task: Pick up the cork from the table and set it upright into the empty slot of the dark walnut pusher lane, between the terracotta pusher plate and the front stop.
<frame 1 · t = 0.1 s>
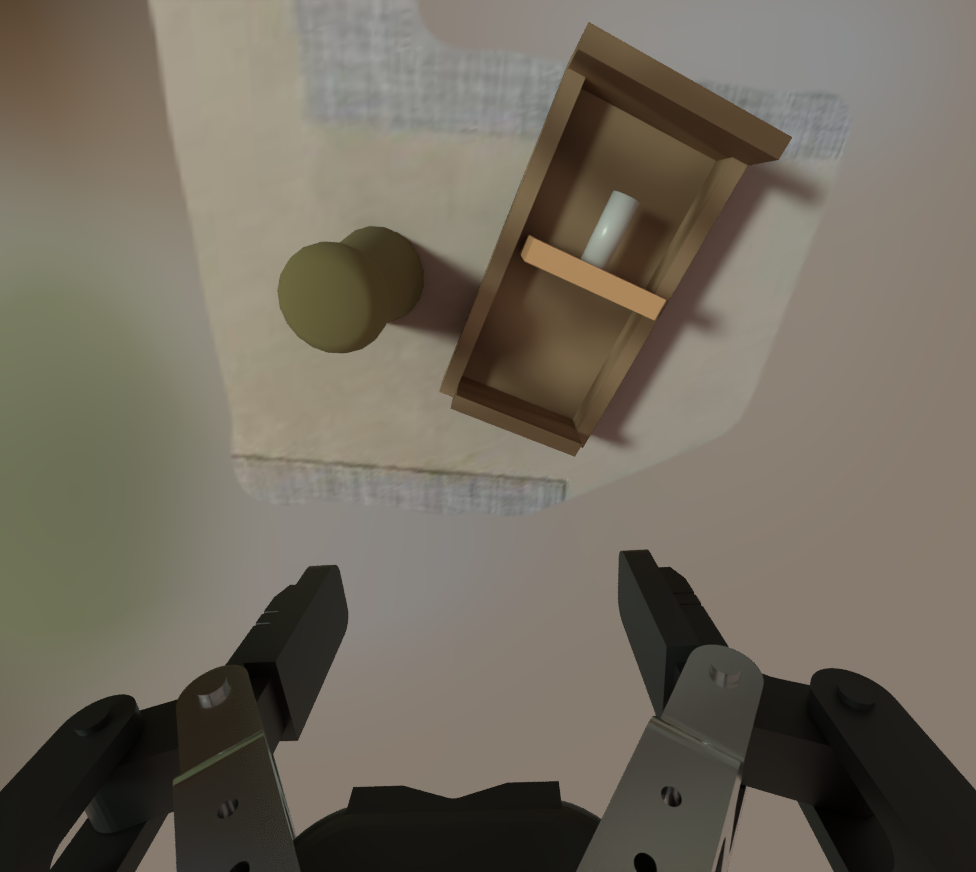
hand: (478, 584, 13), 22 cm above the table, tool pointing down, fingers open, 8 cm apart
lane: (572, 276, 30), on the table
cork: (379, 275, 31), on the table
pusher: (603, 242, 26), point 4 cm above the table, slide at 0.0 cm
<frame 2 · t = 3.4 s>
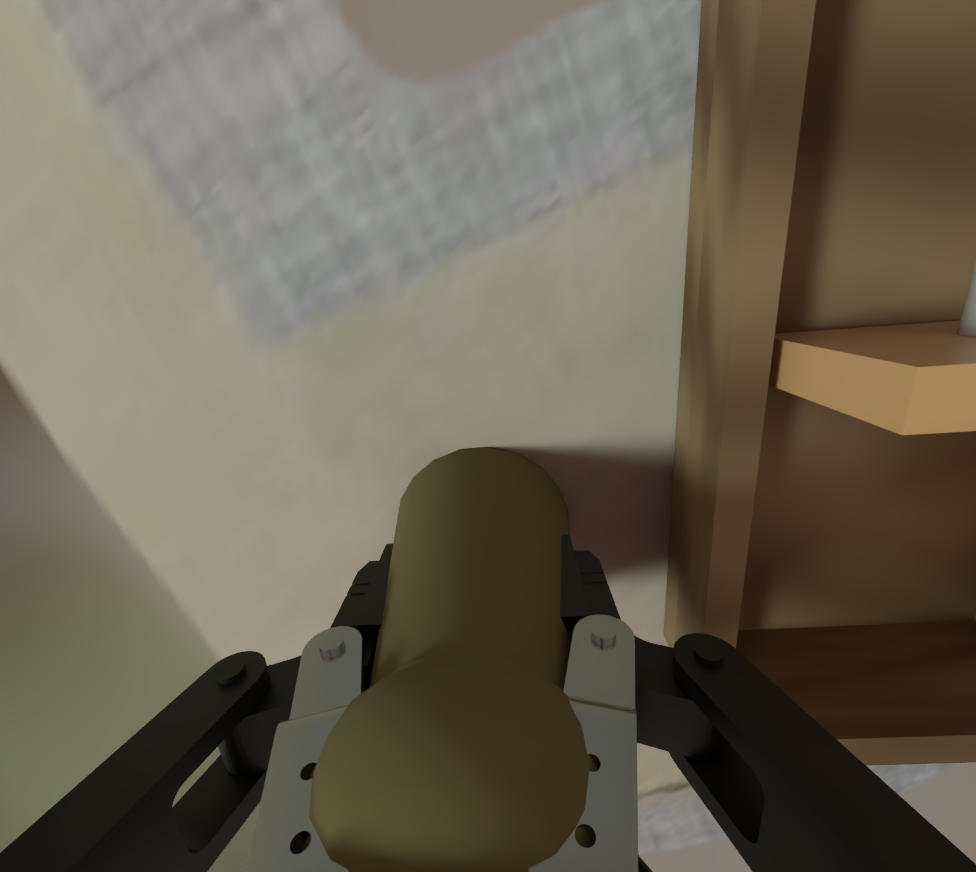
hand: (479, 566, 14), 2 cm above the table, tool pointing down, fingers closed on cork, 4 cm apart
lane: (864, 360, 14), on the table
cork: (483, 525, 16), on the table, touching gripper
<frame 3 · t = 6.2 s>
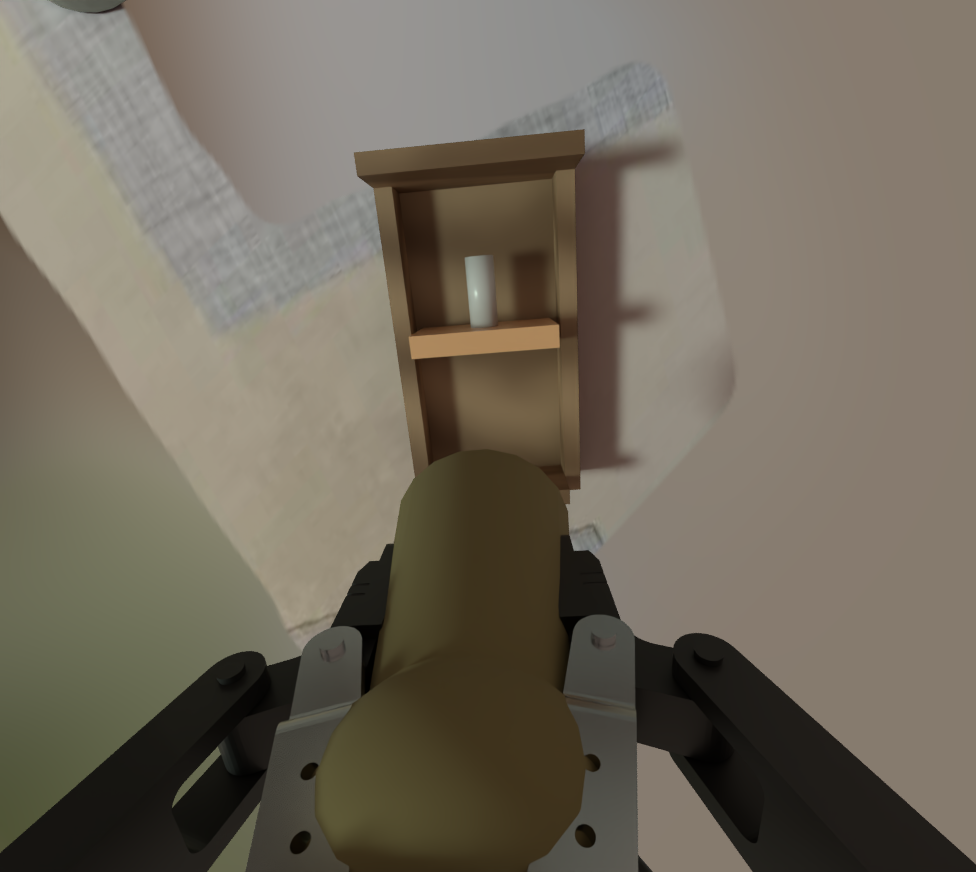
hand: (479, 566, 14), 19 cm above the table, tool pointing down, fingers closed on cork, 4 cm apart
lane: (487, 339, 30), on the table
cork: (483, 526, 16), point 17 cm above the table, touching gripper
pusher: (482, 303, 26), point 4 cm above the table, slide at 0.0 cm
when the fingers open (5 cm above the table, at t = 9.1 s): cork drops 1 cm, resting on lane.
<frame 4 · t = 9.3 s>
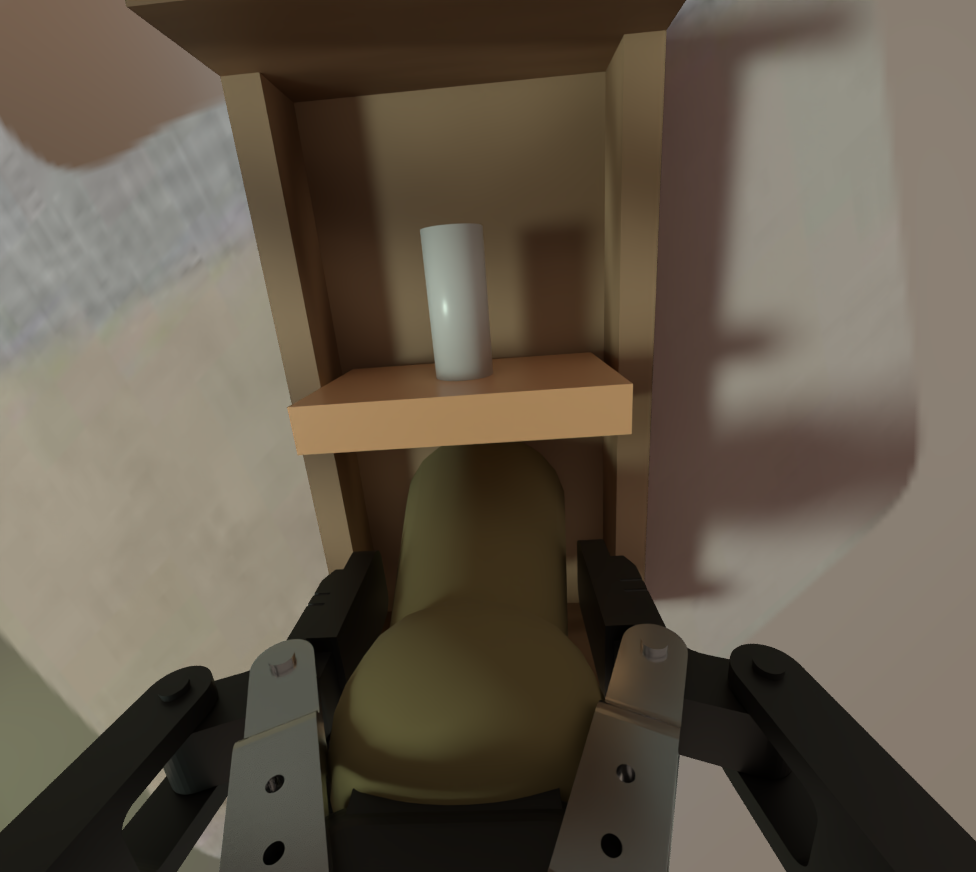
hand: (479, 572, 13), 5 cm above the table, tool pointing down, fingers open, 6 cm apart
lane: (475, 387, 17), on the table
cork: (486, 506, 17), point 1 cm above the table, touching lane
pusher: (460, 328, 12), point 4 cm above the table, slide at 0.0 cm
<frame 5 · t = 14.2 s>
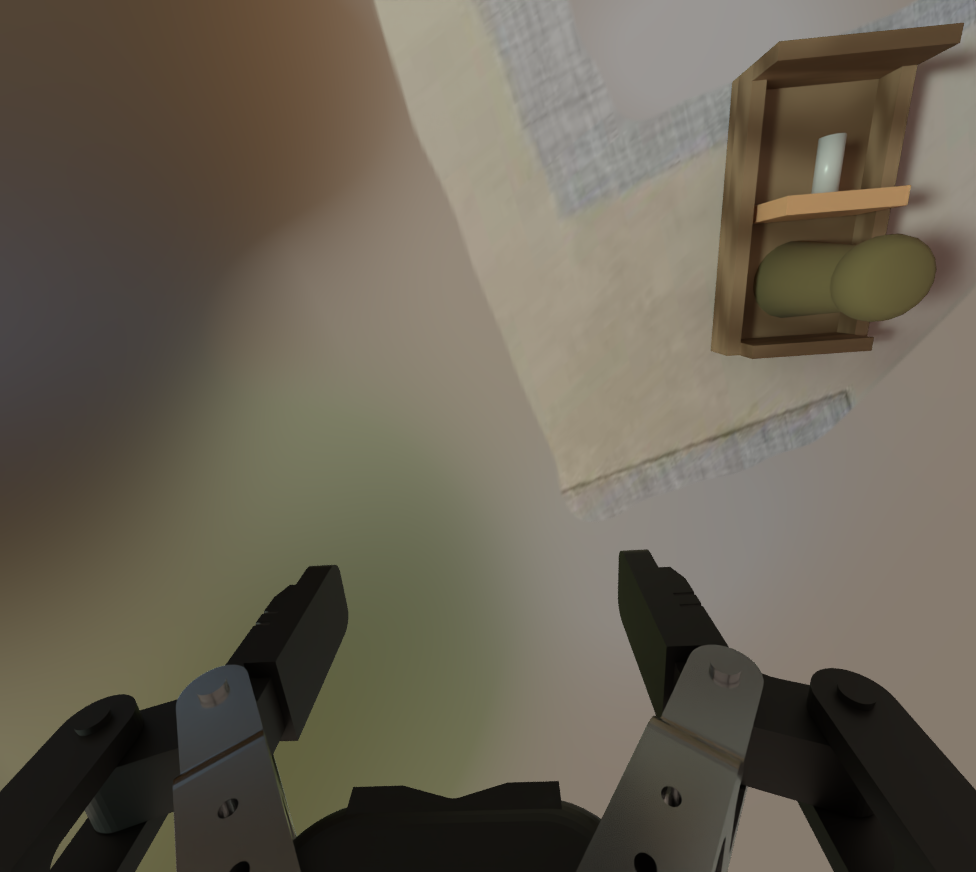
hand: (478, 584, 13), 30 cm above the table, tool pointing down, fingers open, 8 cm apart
lane: (789, 222, 37), on the table
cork: (789, 280, 37), point 1 cm above the table, touching lane
pusher: (826, 177, 32), point 4 cm above the table, slide at 0.0 cm
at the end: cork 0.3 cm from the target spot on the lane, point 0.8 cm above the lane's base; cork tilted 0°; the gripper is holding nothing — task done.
